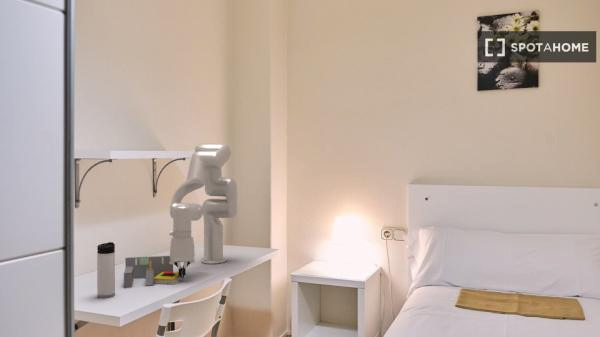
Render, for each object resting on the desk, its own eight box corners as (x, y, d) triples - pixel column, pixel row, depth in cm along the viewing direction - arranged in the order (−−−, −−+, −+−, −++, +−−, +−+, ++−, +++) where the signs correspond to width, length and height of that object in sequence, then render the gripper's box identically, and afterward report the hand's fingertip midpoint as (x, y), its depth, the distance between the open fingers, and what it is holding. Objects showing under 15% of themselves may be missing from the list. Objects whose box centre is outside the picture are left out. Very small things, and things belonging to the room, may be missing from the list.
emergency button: (183, 268, 218) (173, 277, 203) (183, 278, 218) (172, 287, 203) (163, 268, 218) (150, 276, 203) (163, 278, 218) (150, 287, 203)
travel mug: (118, 293, 191) (118, 242, 190) (108, 298, 185) (108, 245, 184) (104, 292, 192) (104, 241, 192) (93, 297, 186) (93, 244, 185)
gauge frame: (125, 278, 214) (125, 257, 214) (173, 275, 220) (173, 255, 219) (122, 287, 199) (122, 265, 199) (173, 284, 205) (173, 263, 204)
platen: (146, 278, 213) (146, 261, 213) (154, 278, 214) (154, 260, 213) (145, 285, 202) (145, 266, 202) (153, 284, 203) (153, 266, 203)
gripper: (164, 236, 204) (164, 280, 205) (200, 235, 209) (200, 278, 209) (164, 233, 212) (163, 276, 212) (199, 232, 216) (199, 274, 216)
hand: (182, 277), depth 211 cm, fingers closed
